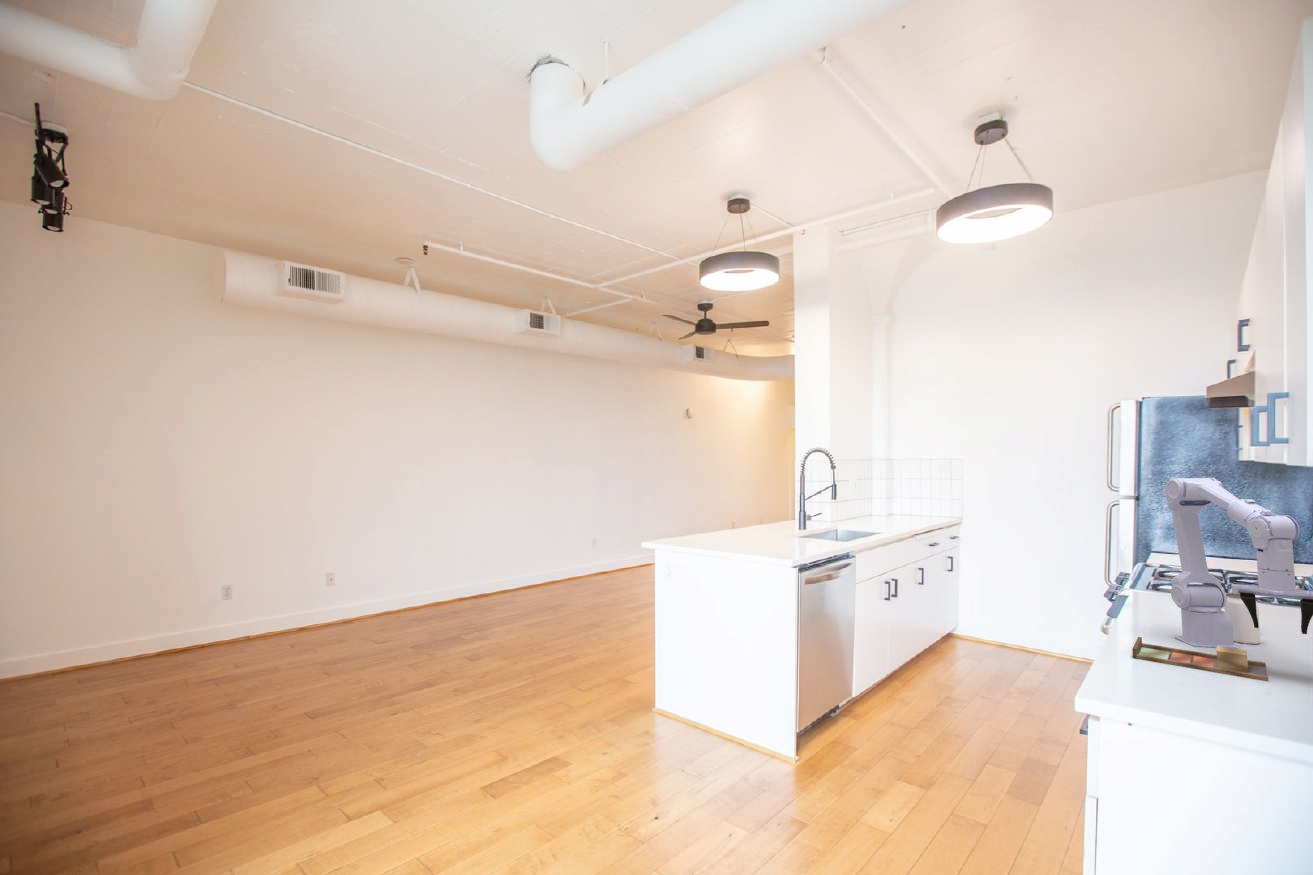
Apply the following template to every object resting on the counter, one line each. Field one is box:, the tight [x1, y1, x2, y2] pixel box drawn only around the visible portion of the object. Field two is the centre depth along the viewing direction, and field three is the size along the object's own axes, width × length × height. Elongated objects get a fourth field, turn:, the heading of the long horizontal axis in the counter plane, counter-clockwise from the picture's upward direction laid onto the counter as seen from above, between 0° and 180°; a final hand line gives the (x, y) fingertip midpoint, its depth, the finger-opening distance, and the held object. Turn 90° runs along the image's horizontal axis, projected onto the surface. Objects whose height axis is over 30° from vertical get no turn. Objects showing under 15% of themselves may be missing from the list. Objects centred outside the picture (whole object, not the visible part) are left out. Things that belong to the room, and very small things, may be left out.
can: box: [1223, 593, 1261, 645], centre depth 154 cm, size 6×6×12 cm
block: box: [1216, 646, 1248, 673], centre depth 134 cm, size 5×5×4 cm
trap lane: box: [1132, 636, 1269, 682], centre depth 139 cm, size 23×13×2 cm, turn 45°
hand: (1279, 629), depth 129 cm, fingers open, 7 cm apart
